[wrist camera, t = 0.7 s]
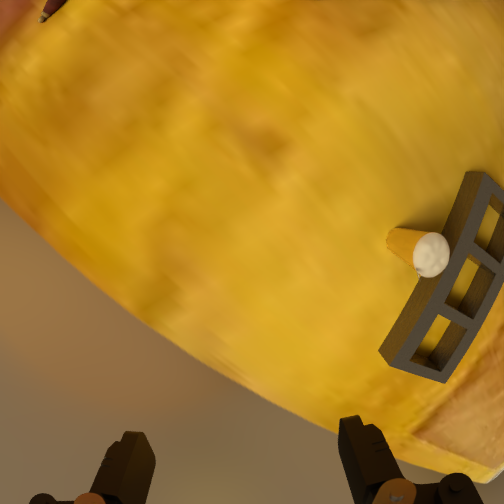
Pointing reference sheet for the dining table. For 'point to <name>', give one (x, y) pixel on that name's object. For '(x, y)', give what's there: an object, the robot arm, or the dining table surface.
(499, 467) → the dining table surface
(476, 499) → the robot arm
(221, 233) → the dining table surface
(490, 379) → the dining table surface
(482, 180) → the three-window grey frame
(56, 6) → the gavel
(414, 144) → the dining table surface
